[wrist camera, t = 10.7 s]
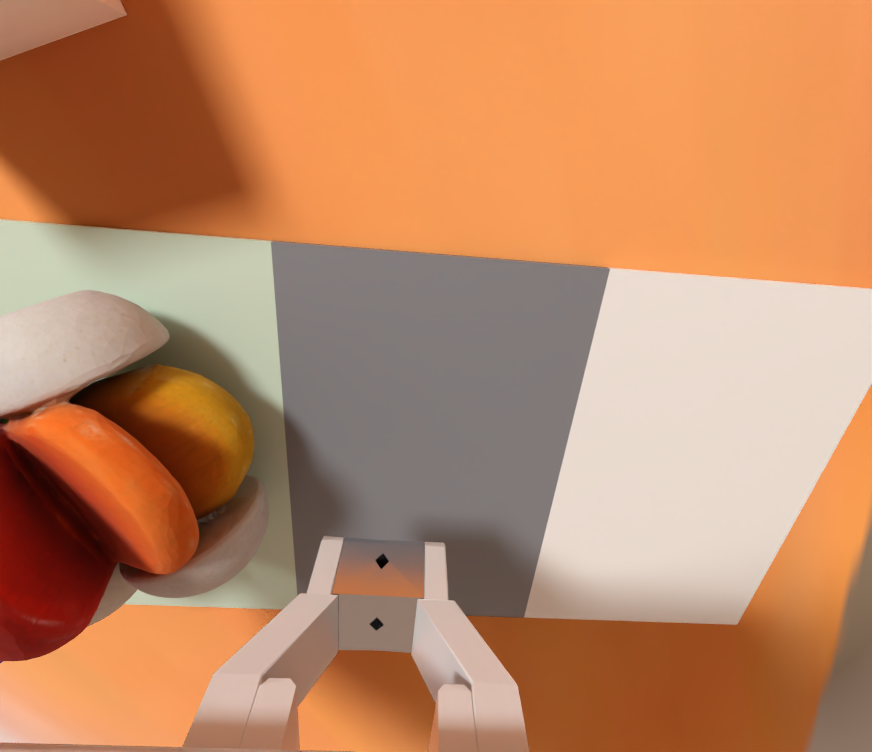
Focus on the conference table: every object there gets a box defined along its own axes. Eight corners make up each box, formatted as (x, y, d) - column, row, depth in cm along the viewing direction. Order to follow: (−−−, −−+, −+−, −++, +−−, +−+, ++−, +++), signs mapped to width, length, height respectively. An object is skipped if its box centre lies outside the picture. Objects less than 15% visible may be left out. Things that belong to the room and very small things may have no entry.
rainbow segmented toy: (325, 492, 15) (245, 750, 8) (83, 566, 16) (-160, 845, 9) (183, 249, 11) (-156, 354, 5) (-113, 366, 12) (-717, 582, 6)
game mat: (-92, 211, 11) (-101, 212, 11) (914, 291, 12) (921, 293, 12) (63, 597, 17) (59, 601, 17) (733, 620, 18) (737, 624, 18)
